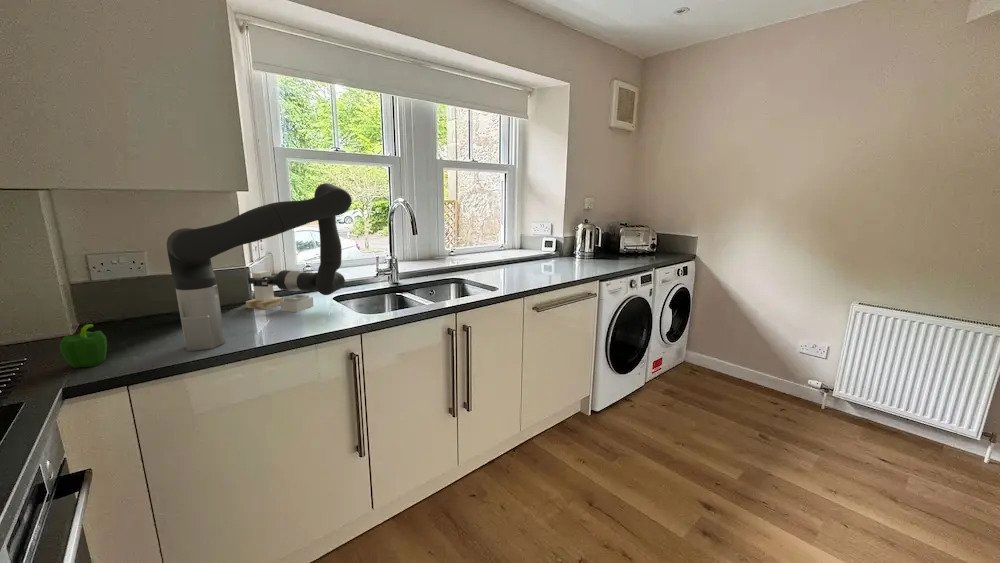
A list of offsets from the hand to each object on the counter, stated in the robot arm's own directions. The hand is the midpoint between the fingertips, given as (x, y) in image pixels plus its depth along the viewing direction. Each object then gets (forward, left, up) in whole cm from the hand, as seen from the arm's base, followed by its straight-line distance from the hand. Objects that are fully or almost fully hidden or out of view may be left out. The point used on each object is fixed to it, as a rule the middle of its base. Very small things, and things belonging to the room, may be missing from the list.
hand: (258, 278), depth 153 cm
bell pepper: (-50, +29, -11) cm, 59 cm away
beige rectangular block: (-10, -14, -11) cm, 20 cm away
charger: (-1, -2, -8) cm, 9 cm away
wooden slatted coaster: (-1, -2, -11) cm, 11 cm away
